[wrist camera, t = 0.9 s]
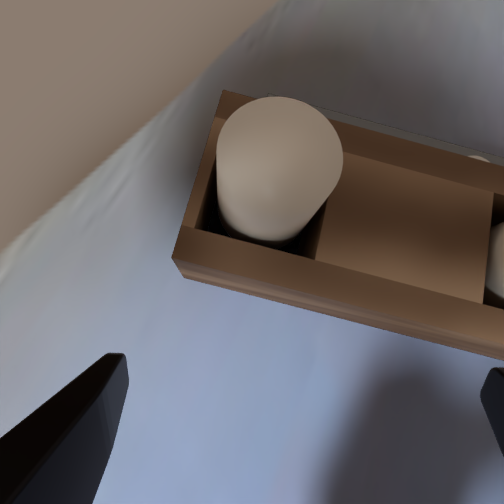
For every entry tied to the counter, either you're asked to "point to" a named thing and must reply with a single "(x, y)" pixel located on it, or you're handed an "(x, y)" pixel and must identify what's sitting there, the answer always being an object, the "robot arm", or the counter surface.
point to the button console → (369, 241)
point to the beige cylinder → (274, 169)
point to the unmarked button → (495, 268)
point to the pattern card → (408, 135)
